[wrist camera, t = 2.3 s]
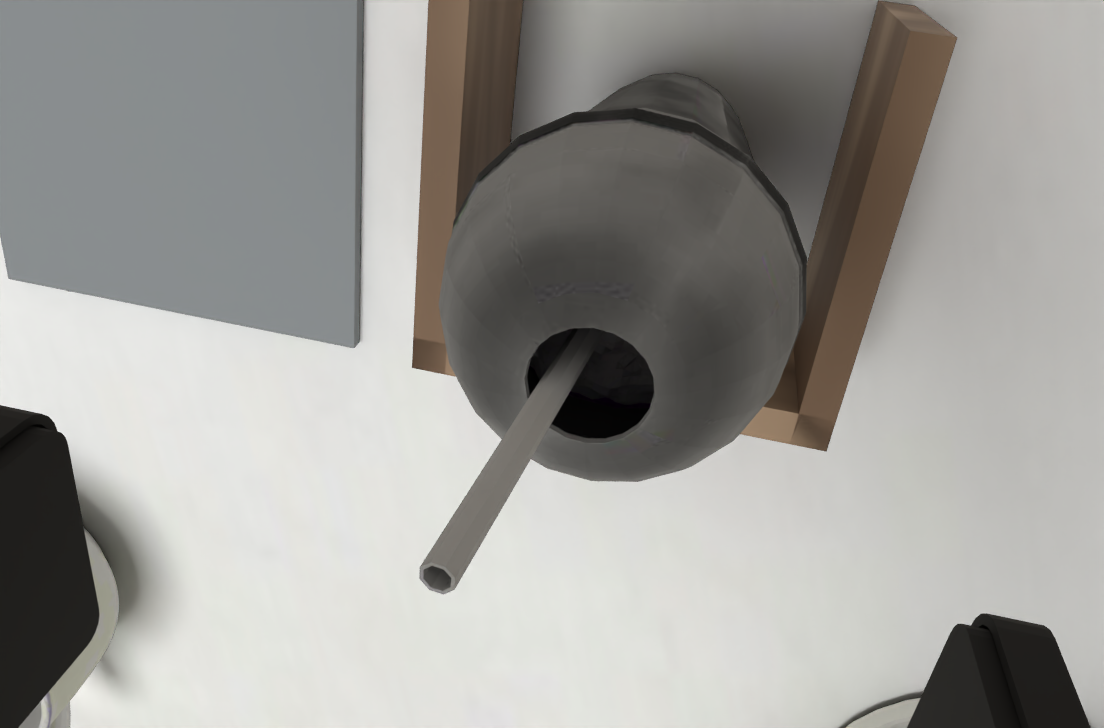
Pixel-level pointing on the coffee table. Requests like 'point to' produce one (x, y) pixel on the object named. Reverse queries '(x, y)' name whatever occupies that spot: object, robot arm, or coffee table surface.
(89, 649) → the teacup
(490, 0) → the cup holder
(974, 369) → the coffee table surface
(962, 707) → the robot arm
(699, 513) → the coffee table surface
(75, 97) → the slate mat
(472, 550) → the beverage cup
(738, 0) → the coffee table surface
